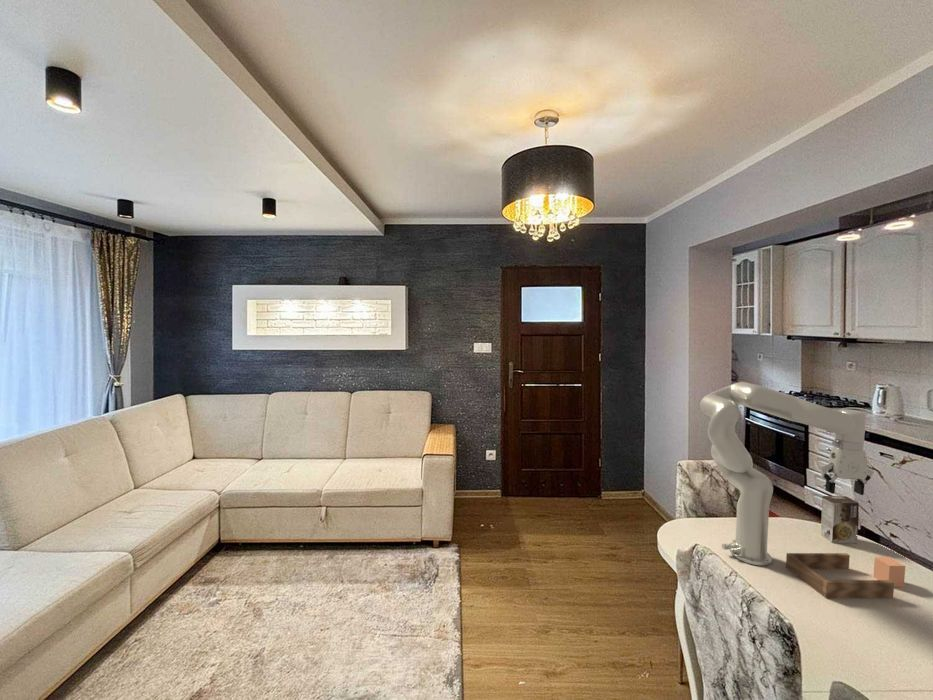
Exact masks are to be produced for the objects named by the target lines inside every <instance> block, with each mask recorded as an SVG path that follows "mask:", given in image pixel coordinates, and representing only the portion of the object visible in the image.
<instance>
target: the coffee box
mask: <svg viewBox="0 0 933 700" xmlns="http://www.w3.org/2000/svg"><path fill="white" fill-rule="evenodd" d="M821 499H822V502H821V503H822V505H821V519H820V520H821V521H820V522H821V523H820V535H821V536H822V537H823V538H825V539H826V540H828V541H829V542H830V543H833V544H858V533H859V532H858V528H859V507H860V506H859V505H860V503H859V502H857V501H855V500H854V499H852V498H851V497H849V496H846V495H845V496H844V495H843V496H842V495H841V496H840V495H822V497H821ZM856 535H857V536H856Z"/></svg>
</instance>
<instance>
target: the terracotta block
mask: <svg viewBox="0 0 933 700" xmlns="http://www.w3.org/2000/svg"><path fill="white" fill-rule="evenodd" d="M873 560H874V563H873V577H872V578H874V580H891V581H892V582H894V588H898V587H899V588H903V587H905V577H906V575H905V574H906V565H905V564H903V563H902V562H900V561H898V560H895V559H894V558H892V557H890V556H874V559H873Z"/></svg>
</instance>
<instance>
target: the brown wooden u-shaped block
mask: <svg viewBox="0 0 933 700" xmlns="http://www.w3.org/2000/svg"><path fill="white" fill-rule="evenodd" d="M850 558H851V555H850V554H848V553H846V552H842V553H839V552H836V553H834V552H830V553H829V552H824V553H823V552H819V553H817V552H816V553H814V552H813V553H812V552H811V553H810V552H809V553H807V552H804V553H803V552H799V553H798V552H797V553H796V552H795V553H793V552H792V553H791V552H790V553H789V552H787V553H786V557H785V568H787V569H788V570H789V571H790V572H792V573H793V574H794V576H796V577H798V578H799V579H800V580H802V581H803V582H804V583H805V584H807V585H808V586H810V587H811V588H812V589H814V591H816V592H817V593H818V594H820V595H821V596H822V597H824V598H825V599H894V592H895V587H894V582H892V581H891V580H877V579H874V580H871V579H868V580H867V579H866V580H864V579H862V580H861V579H860V580H859V579H853V580H851V579H850V580H849V579H845V580H844V579H841V580H840V579H837V580H835V579H833V580H832V579H826V578H825V577H824V576H823V575H821V574H819V573H818V572H816V570H850Z"/></svg>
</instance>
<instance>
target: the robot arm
mask: <svg viewBox="0 0 933 700" xmlns="http://www.w3.org/2000/svg"><path fill="white" fill-rule="evenodd" d="M739 406H743V407H747V408H749V409H752V410H755V411H759V412H762V413H765V414H768V415H772V416H775V417H778V418H782V419H784V420H788V421H791V422H795V423H800V424H803V425H806V426H811V427H813V428H817V429H820V430H823V431H826V432H829V433H833V434H834V441H831V444H832V445H833V446H832V448H831V450H830V453H829V457H828V462H827V463H828V464H825V465H823V466H821V467H819V469H818V470H819V472H820V475H821V476H822V477H823V479H824V480H825V491H826V492H828V493H830V494H835V493H836V491H835V490H836V482H835V481H836V480H837V479H838V478H839V479H843V480H855V481H854V487H853V491H854V493H856V494H858V495H860V496H864V494H865V485H866V484H867V483H868V482H869V480H870V479H871V477H872V476H873V474H875V473H874V472H875V471H874V470H872V469H870V468H868V459H867V458H868V456H867V452H866V450H864V444H865V443H864V442H865V435H866V425H867V423H866V422H867V414H866V413H865V412H863V411H861V410H855V409H847V408H844V409H843V408H842V409H836V408H831V407H826V406H824V405H820V404H817V403H813V402H811V401H808V400H806V399H803V398H800V397H797V396H795V395H792V394H788V393H784V392H781V391H779V390H775V389H770V388H768V387H765V386H761V385H759V384H753V383H749V382H746V381H739V382H735V383H732V384H729V385H727V386H725V387H722V388H720V389H718V390H715V391H713V392H710V393H707V395H705V396H703V398H702V399H701V400H700V403H699V409H700V410H701V412H702V413H703V414H704V415H706V416H707V417H709V418H710V420H709V423H708V427H707V437H708V439H709V441H710V443H711V444H712V445H711V447H710V455H711V457H712V460H713V461H714V463H715V464H716V466H717V467H718V469H719V470H720V472H721V473H722V475H723V476H724V478H725V479H726V480H727V482H729V483H730V484H731V485H732V486H733V487H735V488H736V489H737V490H739V491H740V496H739V498H738V501H737V503H736V523H735V539H732V542H730V543H721V548H722V550H725V551H726V550H729V552H730V554H731V555H732V556H733V557H734V558H736V559H737V560H739V561H742V562H743V563H747V564H750V565H753V566H768V565H771V564H772V563H773V557H772V555H771V554H770V553H768V539H769V538H768V537H769V536H768V535H769V520H770V518H769V516H770V515H769V513H770V504H771V500H772V497H773V493H774V485H773V482H772V481H771V479H770V478H769V477H768V476H767V475H765V474H764V473H762V471H760V470H759V469H758V470H757V469H756V468H754V467H753V458H752V456H751V453H750V452H749V451H748V450H747V448H746V447H745V445H744V444H743V443H742V440H740V438H739V436H738V435H737V432H736V430H735V428H736V424H737V422H738V420H739V417H740V408H739Z"/></svg>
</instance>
